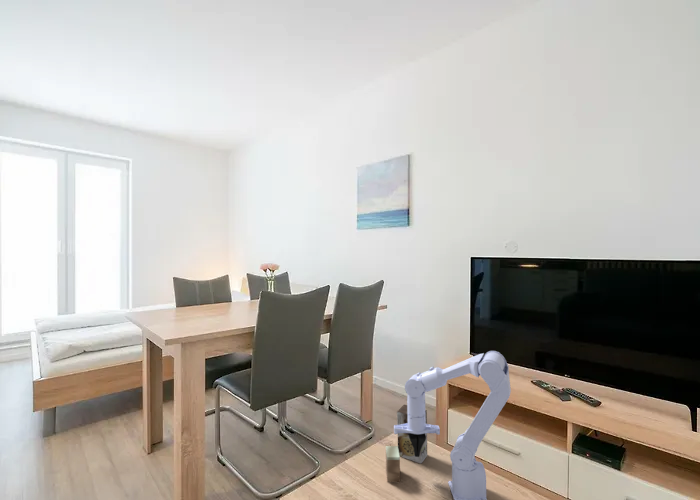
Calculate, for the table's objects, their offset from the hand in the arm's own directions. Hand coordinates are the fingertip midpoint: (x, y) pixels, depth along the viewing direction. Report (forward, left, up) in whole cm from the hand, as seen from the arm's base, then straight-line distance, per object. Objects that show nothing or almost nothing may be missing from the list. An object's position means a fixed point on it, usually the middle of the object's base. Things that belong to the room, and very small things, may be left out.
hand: (416, 454), depth 111 cm
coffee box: (0, -11, -7) cm, 13 cm away
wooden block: (+8, 0, -7) cm, 10 cm away
